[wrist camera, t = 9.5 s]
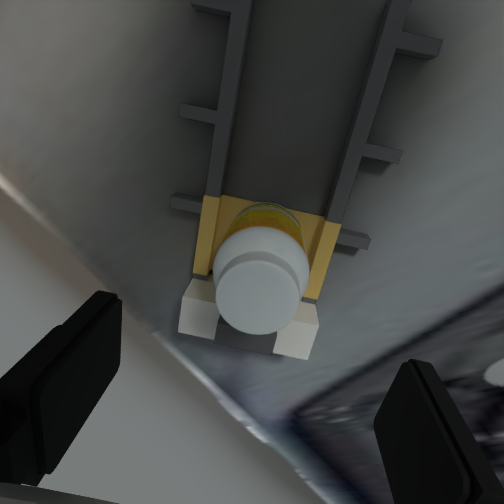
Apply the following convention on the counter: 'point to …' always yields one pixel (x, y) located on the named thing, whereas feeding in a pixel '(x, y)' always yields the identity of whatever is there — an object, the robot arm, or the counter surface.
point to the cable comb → (313, 226)
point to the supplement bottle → (261, 269)
